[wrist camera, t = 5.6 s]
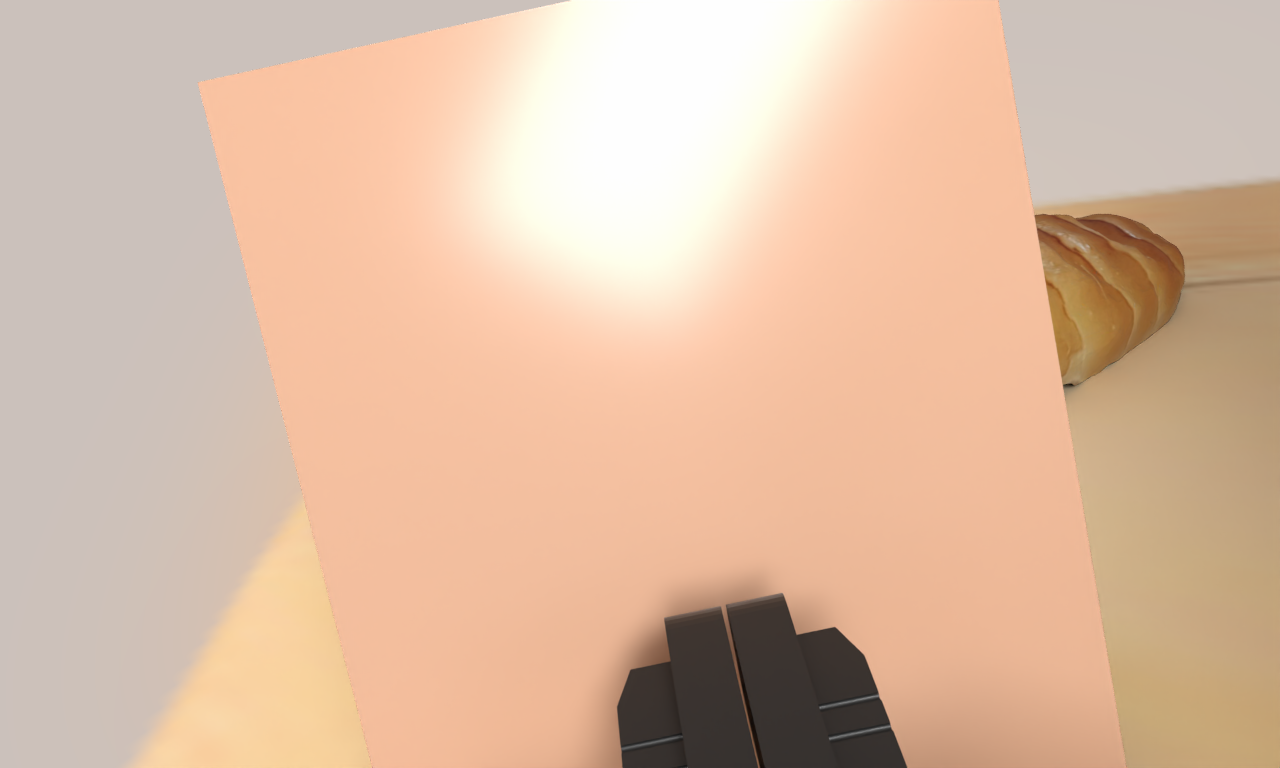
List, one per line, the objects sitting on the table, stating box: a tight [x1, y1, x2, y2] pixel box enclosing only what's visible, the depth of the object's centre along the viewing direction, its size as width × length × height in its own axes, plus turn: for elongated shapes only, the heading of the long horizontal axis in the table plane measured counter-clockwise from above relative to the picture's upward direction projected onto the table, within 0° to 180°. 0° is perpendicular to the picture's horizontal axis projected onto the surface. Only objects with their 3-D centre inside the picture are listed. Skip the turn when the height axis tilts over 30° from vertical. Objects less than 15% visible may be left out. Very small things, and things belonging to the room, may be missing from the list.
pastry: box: [1034, 214, 1185, 386], centre depth 29 cm, size 9×7×4 cm
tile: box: [198, 0, 1127, 768], centre depth 15 cm, size 10×3×14 cm, turn 96°
